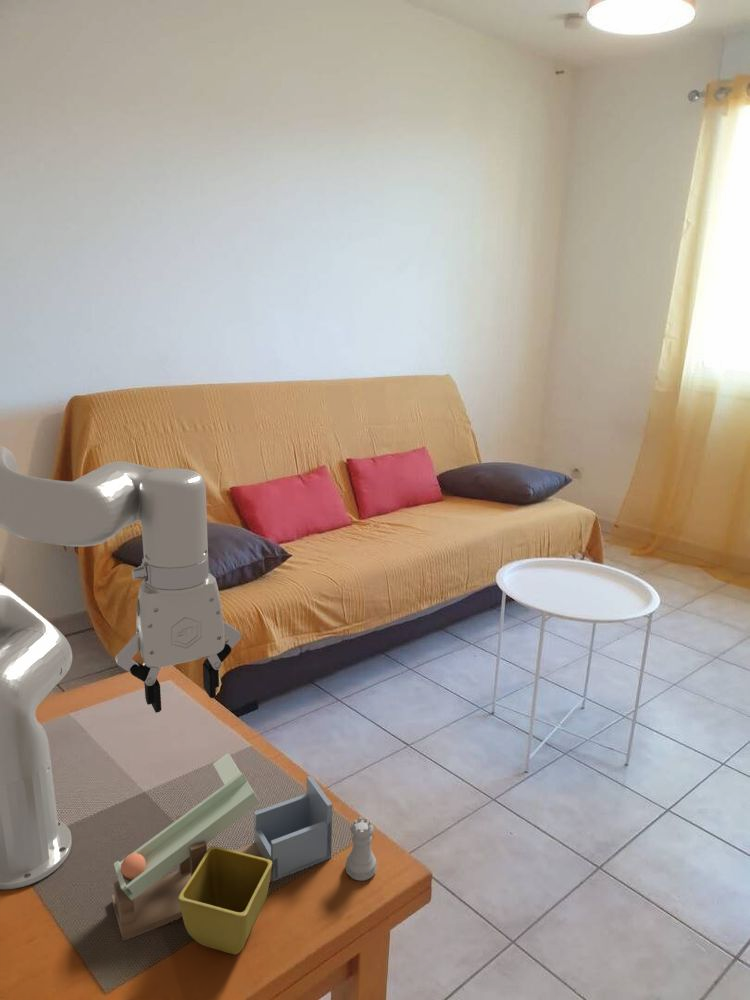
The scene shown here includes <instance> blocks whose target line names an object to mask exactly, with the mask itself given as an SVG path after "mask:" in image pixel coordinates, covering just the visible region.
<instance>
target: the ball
mask: <svg viewBox="0 0 750 1000" xmlns="http://www.w3.org/2000/svg"><path fill="white" fill-rule="evenodd" d="M131 853H132V854H131ZM131 853H130V854H127V856H126V857H124V858H123V859H124V860H123V859H122V860H123V862H122V865H121V871H122V874H123V876H124V877H125V878H127V879H131V880H133V879H135V878H136V877H137V876H139V875H140V874H141V873H143V872H144V871H145V868H146V861H145V858H144V857H143V856H142V855H141V854H138V853H133V852H131Z"/></svg>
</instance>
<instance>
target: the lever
mask: <svg viewBox="0 0 750 1000" xmlns="http://www.w3.org/2000/svg"><path fill="white" fill-rule="evenodd" d="M212 765H213V767H214V768H215V771H216V772H217V774H218V776H219V777H220V780H221V781H222V783H223V785H222V786H221V787H219V788H218V789H217V790H216V791H214V792H213V793H211V794H210V795H208V796H207V797H206V798H205V799H203V800H201V801H200V802H198V804H197V805H195V806H193V808H192V807H191V809H189V810H188V811H187V812H186V813H183V814H184V815H183V814H182V815H183V816H181V817H180V818H179V819H177V818H176V820H175V821H173V822H172V823H171V824H169V825H168V826H166V827H165V828H164V829H163V830H161V831H160V832H158V833H157V834H156V835H154V836H153V837H152V838H150V839H149V840H148V841H146V842H145V843H143V844H142V845H141V846H140V847H138V848H137V849H135V850H134V851H133V852H131V853H130V854H132V853H138V854H141V855H142V856H143V857H144V858H145V861H146V868H145V871H144V872H143V873H141V874H140V875H139V876H137V877H136V878H135V879H133V880H131V879H127V878H125V877H124V876H123V874H122V871H121V865H122V862H123V860H124V859H125V858H123V859H122V860H120V861H119V860H117V861H115V862H114V863H113V866H114V870H115V873H116V876H117V881H118V880H119V883H120V887H121V889H122V891H123V892H124V893H125V894H126V895H127V896H128V897H129V898H130V899H131V901H132V900H133V899H135V898H136V897H137V896H139V895H140V894H141V893H142V892H144V891H145V890H146V889H148V888H149V887H150V886H152V885H153V884H154V883H156V882H157V881H158V880H160V879H161V878H162V877H163V876H166V875H168V874H170V872H171V871H173V870H174V869H175V868H177V866H179V864H181V863H182V862H183V861H184V860H186V859H187V858H188V857H190V848H189V846H192V845H194V844H197V843H200V842H203V841H205V842H206V845H207V844H208V843H210V842H211V841H213V840H214V839H215V838H217V836H219V835H220V834H221V833H222V832H224V831H225V830H226V829H228V828H230V827H231V826H232V825H233V824H235V823H236V822H237V821H239V820H240V819H241V818H243V816H246V814H247V813H249V812H250V811H252V810H253V809H254V808H255V807H257V806H258V805H260V804H261V801H260V800H259V798H258V796H257V794H256V793H255V791H254V789H253V787H252V786H251V785H250V783H249V781H248V780H247V779H246V777H245V775H244V774H243V773H242V772H241V771H240V769H239V768H238V766H237V764H236V763H235V761H234V760H233V758H232V756H231V755H230V753H229V752H227V753H226V754H224V755H223V756H222V757H220V758H219V759H218V760H216V761H215V762H214V763H212Z"/></svg>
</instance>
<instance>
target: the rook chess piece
mask: <svg viewBox="0 0 750 1000" xmlns="http://www.w3.org/2000/svg"><path fill="white" fill-rule="evenodd" d="M350 832H351V834H352V836H351V838H352V839H351V840H352V842H353V845H352V849H351V850H350V852H349V854H348V856H347V858H346V860H345V861H346V862H345V871H346V874H347V875H348V876H349V877H350V878H351V879H353V880H355V881H357V882H358V881H359V882H361V881H362V882H364V881H368V880H369V879H371V878H373V876H375V874H376V873H377V869H378V867H377V859H376V857H375V854H374V852H373V851H372V846H371V845H372V844H371V843H372V841H373V836H372V835H373V834H374V832H375V828H374V825H373V823H372V820H369V819H368V817H364V819H362V817H361V816H360V817H358V818H357V819H354V821H353V824H352V825H351V827H350Z"/></svg>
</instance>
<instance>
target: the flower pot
mask: <svg viewBox="0 0 750 1000" xmlns="http://www.w3.org/2000/svg"><path fill="white" fill-rule="evenodd" d="M233 850H234V849H228V848H225V847H221V846H218V845H217V846H216V845H215V846H214V845H211V846H209V847H208V848H207V852H206V854H205V855H204V857H203V859H202V860H201V862H200V864H199V865H198V867H197V869H196V870H195V872H194V874H193V875H192V876H191V878H190V879H189V881H188V882H187V884H186V886H185V887H184V889H183V890H182V892H181V893H180V895H179V898H178V899H179V903H180V908H181V912H182V920H183V924H184V927H185V929H186V931H187V933H188V934H189V936H190V937H191V938H192V939H193V940H194V941H196V943H199V944H200V945H201V946H204V947H206V948H211V949H213V950H217V951H220V952H223V953H228V954H232V955H238V954H239V953H240V952H241V951H242V950H243V949H244V946H245V944H246V943H247V941H248V939H249V935H250V934H251V932H252V929H253V927H254V926H255V923H256V921H257V919H258V918H259V916H260V913H261V912H262V909H263V907H264V905H265V903H266V899H267V896H268V893H269V888H270V887H269V886H270V883H271V882H270V875H271V868H272V861H271V860H269V859H265V858H262V857H257V856H253V855H249V854H245V853H241V852H237V851H233Z"/></svg>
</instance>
